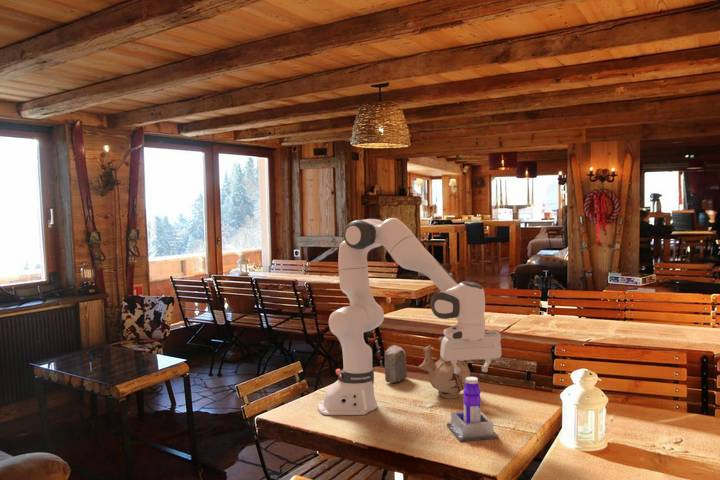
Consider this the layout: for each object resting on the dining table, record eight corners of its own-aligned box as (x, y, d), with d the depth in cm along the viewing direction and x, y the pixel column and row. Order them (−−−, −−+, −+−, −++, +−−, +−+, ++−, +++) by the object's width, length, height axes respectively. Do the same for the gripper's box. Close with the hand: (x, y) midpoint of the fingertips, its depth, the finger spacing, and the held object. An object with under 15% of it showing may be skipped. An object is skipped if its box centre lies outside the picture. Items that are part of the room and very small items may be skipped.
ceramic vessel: (444, 385, 234) (444, 326, 233) (483, 394, 221) (483, 333, 220) (417, 395, 221) (416, 334, 220) (457, 407, 208) (456, 341, 207)
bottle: (481, 434, 180) (481, 381, 179) (463, 433, 180) (463, 381, 180) (480, 426, 187) (480, 375, 186) (463, 425, 188) (462, 374, 187)
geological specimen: (395, 385, 235) (395, 350, 234) (383, 383, 238) (382, 348, 238) (407, 378, 244) (407, 345, 243) (395, 376, 247) (394, 343, 247)
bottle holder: (459, 441, 177) (459, 426, 176) (446, 426, 189) (446, 412, 189) (498, 438, 179) (498, 423, 178) (482, 423, 192) (482, 409, 191)
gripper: (497, 327, 187) (496, 367, 188) (438, 330, 184) (438, 371, 185) (505, 331, 181) (504, 373, 182) (444, 334, 178) (444, 376, 178)
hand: (470, 372), depth 183 cm, fingers open, 8 cm apart
